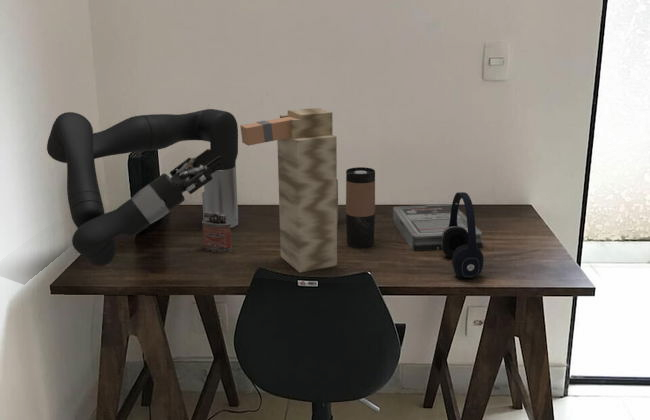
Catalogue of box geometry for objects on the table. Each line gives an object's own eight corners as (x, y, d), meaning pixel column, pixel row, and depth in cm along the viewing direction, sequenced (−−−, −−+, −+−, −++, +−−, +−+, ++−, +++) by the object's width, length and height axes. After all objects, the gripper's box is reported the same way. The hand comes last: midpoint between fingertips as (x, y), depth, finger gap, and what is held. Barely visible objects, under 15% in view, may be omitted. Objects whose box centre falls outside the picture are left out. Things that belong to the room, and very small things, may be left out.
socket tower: (299, 272, 168) (296, 117, 157) (280, 256, 178) (276, 109, 168) (337, 265, 172) (336, 113, 161) (316, 250, 183) (314, 106, 172)
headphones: (438, 252, 180) (441, 183, 175) (465, 252, 180) (468, 183, 175) (455, 283, 161) (458, 206, 156) (485, 282, 161) (489, 206, 156)
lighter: (234, 248, 185) (232, 212, 182) (228, 253, 181) (226, 216, 179) (207, 245, 187) (204, 209, 184) (200, 249, 184) (198, 213, 181)
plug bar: (248, 145, 158) (246, 127, 157) (242, 142, 162) (240, 125, 160) (304, 134, 164) (303, 117, 162) (297, 131, 167) (296, 114, 166)
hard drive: (413, 252, 182) (413, 236, 180) (391, 221, 207) (392, 206, 206) (482, 249, 184) (483, 233, 182) (452, 218, 209) (453, 204, 208)
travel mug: (378, 241, 189) (379, 168, 183) (368, 250, 182) (369, 175, 177) (352, 237, 192) (352, 166, 186) (341, 246, 186) (341, 172, 180)
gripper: (160, 203, 162) (217, 162, 166) (175, 220, 150) (236, 175, 153) (141, 178, 159) (199, 136, 162) (154, 193, 146) (217, 147, 150)
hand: (217, 155), depth 158 cm, fingers open, 8 cm apart
